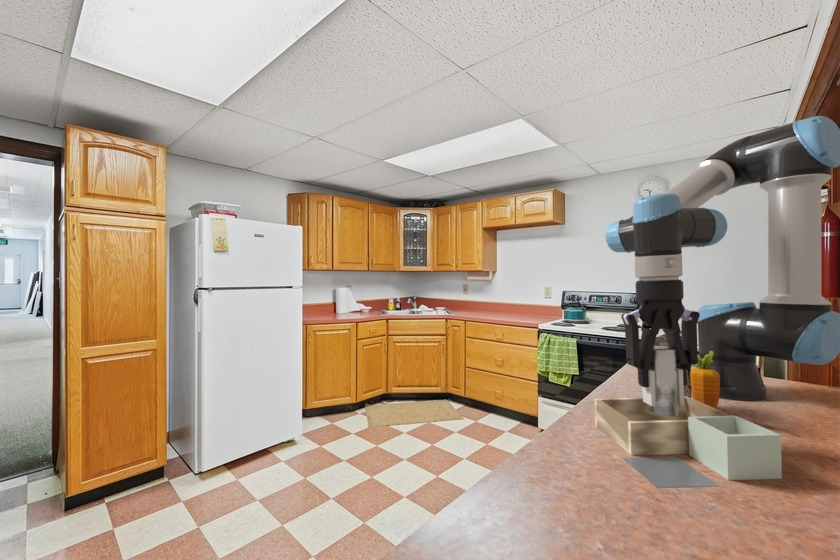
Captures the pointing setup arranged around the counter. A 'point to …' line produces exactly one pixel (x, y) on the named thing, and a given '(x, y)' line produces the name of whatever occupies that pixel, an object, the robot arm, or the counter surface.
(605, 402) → the crate
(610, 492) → the counter surface
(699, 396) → the carrot
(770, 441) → the square storage bin
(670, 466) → the coaster
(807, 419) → the counter surface
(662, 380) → the tin can
